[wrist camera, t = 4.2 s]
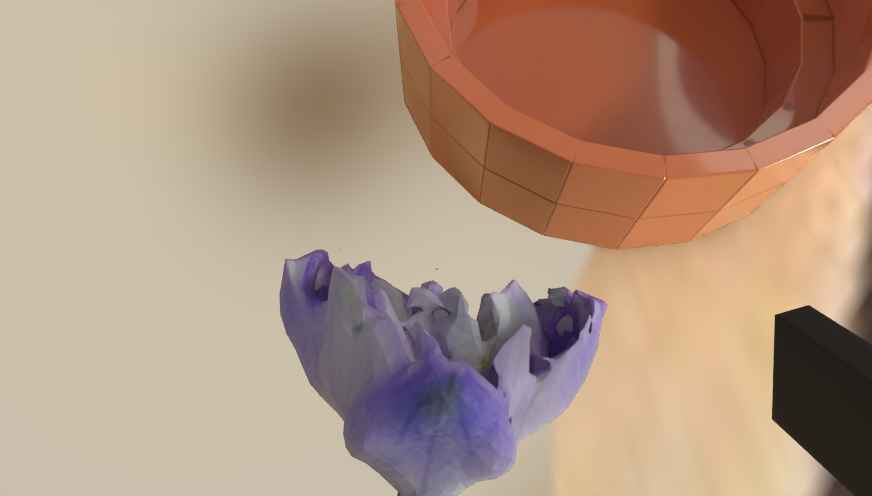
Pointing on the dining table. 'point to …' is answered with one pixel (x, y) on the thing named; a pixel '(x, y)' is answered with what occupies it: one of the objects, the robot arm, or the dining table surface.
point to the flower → (436, 368)
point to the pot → (631, 105)
